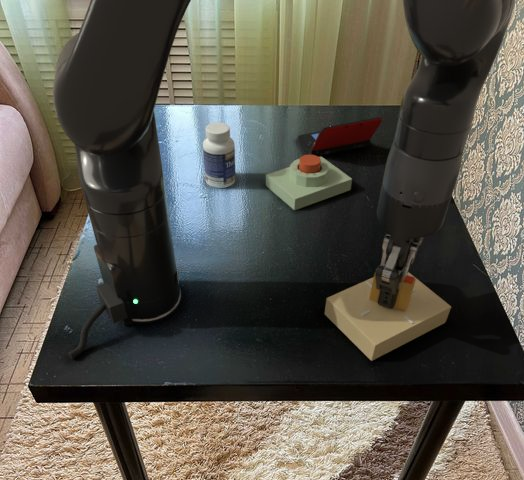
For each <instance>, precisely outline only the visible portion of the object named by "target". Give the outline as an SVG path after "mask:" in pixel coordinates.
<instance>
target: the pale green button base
mask: <svg viewBox="0 0 524 480" xmlns="http://www.w3.org/2000/svg"><path fill="white" fill-rule="evenodd" d="M318 157H319V158H320V159H321V165H320V171H319V172H317V173H314V174H307V173H304V172H301V171H300V170H299V161H300V158H297V159H295V160H293V162H291V164H290V165H289V166H288V167H285V168H281V169H278V170H275V171H273V172H272V171H271V172H269V173H266V174H265V186H266V187H267V188H268V189H269V190H270V191H271V192H273V193H274V194H275V196H277V197H278V198H279V199H281V200H282V201H283V202H284V203H285V204H286V205H288V207H290V208H291V209H292V210H293V211H296V210H297V211H298V210H300V209H302V208H305V207H308V206H310V205H313V204H316V203H318V202H322V201H324V200H327V199H329V198H330V199H331V198H333V197H336V196H338V195H341V194H345V193H347V192H349V191H351V190H352V183H353V178H352V177H350V176H349V175H347V174H346V173H345V172H343V170H341V169H340V168H338V167H337V166H335V165H334V164H332V163H331V162H330V161H329V160H327V159H326V158H324V157H323V156H318Z"/></svg>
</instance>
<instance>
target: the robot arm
mask: <svg viewBox="0 0 524 480" xmlns="http://www.w3.org/2000/svg"><path fill="white" fill-rule="evenodd" d="M191 2H192V0H90V1H89V4H88V7H87V9H86V11H85V12H86V13H85V14H84V17H83V20H82V23H81V26H80V27H79V31H78V32H77V33H76V34H74V35H73V36H71V37H70V38H69V39H68V40H67V41H66V43H65V44H64V45H63V47H62V48H61V50H60V52H59V54H58V57H57V60H56V64H55V65H56V66H55V73H54V78H53V87H52V101H53V102H52V103H53V107H54V110H55V111H54V112H55V115H56V118H57V120H58V123H59V124H60V127H61V129H62V130H63V132H64V134H65V135H66V136H67V138H68V139H69V140H70V141H71V142H72V144H73V145H74V151H75V158H76V165H77V173H78V180H79V185H80V189H81V192H82V195H83V199H84V202H85V205H86V209H87V213H88V217H89V220H90V225H91V228H92V232H93V236H94V238H95V242H96V244H95V245H94V246H93V250H94V254H95V257H96V261H97V265H98V268H99V271H100V275H101V279H102V282H103V283H101V284H99V285H96V286H95V288H96V292H97V295H98V298H99V301H100V305H99V306H98V307H97V308H96V309H95V310H94V311H93V312H92V313H91V314H90V316H89V317H88V318H87V319H86V321H85V322H84V324H83V326H82V327H81V330H80V336H79V337H80V338H79V342H78V345H77V346H76V348H74V349H72V350H70V351H69V352H68V353H67V356H68V357H69V358H70V359H74V358H76V357H78V356H80V354H82V353H83V351H84V350H85V348H86V346H87V344H88V336H89V332H90V329H91V327H92V326H93V324H94V323H95V321H96V320H97V319H98V318H100V316H101V315H102V314H103V313H104V312H105V311H106V314H107V315H108V316H109V318H110V319H111V321H112V323H113V324H117V323H119V322H122V324H123V325H124V327H128V326H130V325H152V324H157V323H159V322H162V321H164V320H166V319H168V318H170V317H171V316H173V315H174V314H175V313H176V312H177V311H178V310H179V308H180V306H181V303H182V292H181V287H180V271H179V270H180V269H178V267H177V262H176V256H175V248H174V242H173V233H172V228H171V221H170V213H169V205H168V199H167V193H166V185H165V176H164V169H163V162H162V155H161V148H160V143H159V136H158V129H157V121H156V114H155V107H156V104H157V100H158V97H159V93H160V89H161V85H162V82H163V79H164V75H165V72H166V68H167V64H168V61H169V58H170V55H171V51H172V48H173V44H174V41H175V39H176V36H177V33H178V30H179V27H180V25H181V22H182V21H183V18H184V17H185V14H186V12H187V10H188V7H189V5H190V3H191ZM515 4H516V0H402V5H403V6H402V7H403V13H404V18H405V24H406V27H407V30H408V34H409V37H410V39H411V41H412V43H413V45H414V47H415V49H416V50H417V52H418V53H419V54H420V55H421V58H420V61H419V64H418V68H417V70H416V72H415V74H414V75H413V76H412V78H411V80H410V82H409V83H408V85H407V86H406V89H405V91H404V93H403V96H402V99H401V103H400V107H399V111H398V114H397V115H398V116H397V121H396V126H395V131H394V136H393V140H392V143H391V146H390V149H389V152H388V155H387V158H386V162H385V166H384V167H385V168H384V171H383V172H384V173H383V176H382V182H381V187H380V191H379V198H378V202H377V208H376V218H377V221H378V222H379V224H380V225H381V227H383V229H385V230H386V231H387V232H388V234H387V233H386V234H385V235H384V238H383V241H382V246H381V250H382V255H381V258H380V263H379V264H378V265H377V267H376V268H375V270H374V274H375V279H376V289H379V290H380V293H379V297H378V302H377V303H378V304H379V305H380V306H383V307H386V308H389V309H392V308H394V306H395V303H396V300H397V296H398V292H399V289H400V287H401V286H402V284H401V283H402V280H403V277H406V276H407V274H408V272H409V273H410V270H411V266H412V264H414V262H415V260H416V258H417V256H418V251H419V249H420V246H421V245H422V243H423V241H424V239H425V238H427V237H430V236H433V235H434V234H436V233H438V232H439V231H440V230H441V229H442V227H443V225H444V223H445V220H446V215H447V213H448V209H449V206H450V204H451V200H452V197H453V194H454V190H455V187H456V185H457V181H458V179H459V175H460V172H461V167H462V160H463V155H464V151H465V147H466V144H467V141H468V138H469V134H470V131H471V128H472V125H473V121H474V117H475V113H476V109H477V105H478V103H479V102H478V101H479V98H480V96H481V92H482V90H483V87H484V85H485V83H486V81H487V79H488V76H489V75H490V72H491V70H492V67H493V65H494V62H495V60H496V58H497V55H498V53H499V50H500V49H501V45H502V43H503V41H504V39H505V35H506V33H507V30H508V28H509V24H510V22H511V19H512V15H513V12H514V9H515V8H514V7H515ZM375 272H376V273H375Z"/></svg>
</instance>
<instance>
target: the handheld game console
mask: <svg viewBox="0 0 524 480" xmlns="http://www.w3.org/2000/svg"><path fill="white" fill-rule="evenodd" d="M382 122H383V117H379V116H378V117H373V118H367V119H363V120H357V121H351V122H347V123H342V124H336V125H330V126H325V127H323V128H321V129H320V130H318V131H313V132H309V133H302V134H300V135H298V136H297V142H298V143H299V144H300V146H302V148H303V149H304V150H305V151H306V152H307V153H308V155H315V156H318V157H323V156H326V155H331V154H335V153H338V152H344V151H345V152H346V151H351V150H357V149H361V148H367V147H369V146H370V145H371V144H370V143H371V139H372V138H373V137H374V135H375V133H376V132H377V130H378V128H379V127H380V125H381V124H382Z"/></svg>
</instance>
